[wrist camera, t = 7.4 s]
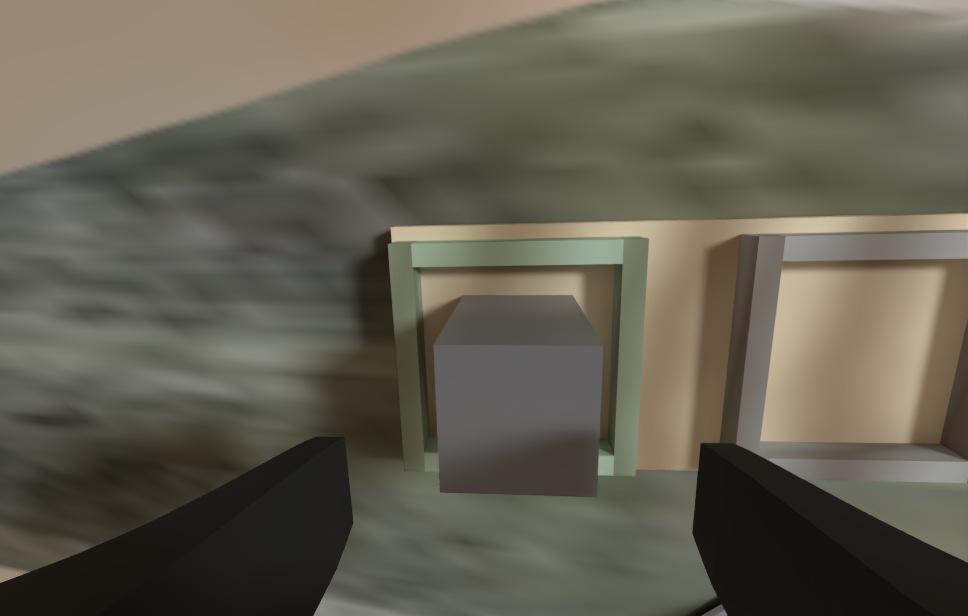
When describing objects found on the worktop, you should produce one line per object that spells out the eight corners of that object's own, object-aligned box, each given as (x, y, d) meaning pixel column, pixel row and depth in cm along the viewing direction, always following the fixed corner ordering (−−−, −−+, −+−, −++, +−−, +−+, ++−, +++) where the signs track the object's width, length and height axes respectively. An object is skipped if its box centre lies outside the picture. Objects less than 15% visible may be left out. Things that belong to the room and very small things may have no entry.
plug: (573, 294, 16) (603, 345, 10) (569, 397, 17) (596, 497, 11) (463, 295, 17) (433, 344, 11) (466, 395, 17) (440, 492, 12)
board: (993, 212, 15) (1069, 213, 13) (936, 460, 18) (995, 496, 15) (397, 226, 17) (380, 229, 15) (413, 451, 19) (400, 482, 17)
